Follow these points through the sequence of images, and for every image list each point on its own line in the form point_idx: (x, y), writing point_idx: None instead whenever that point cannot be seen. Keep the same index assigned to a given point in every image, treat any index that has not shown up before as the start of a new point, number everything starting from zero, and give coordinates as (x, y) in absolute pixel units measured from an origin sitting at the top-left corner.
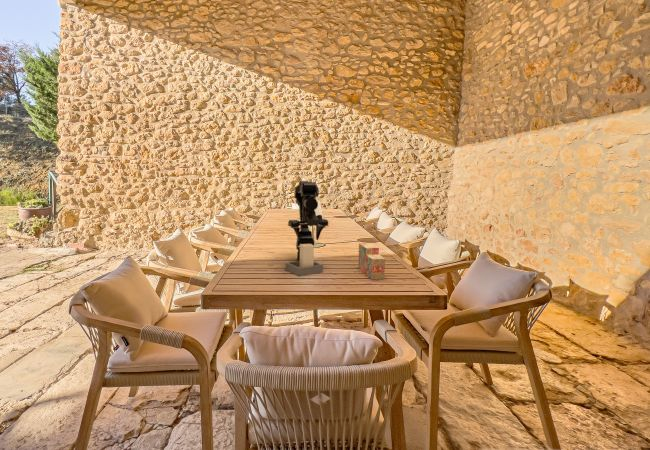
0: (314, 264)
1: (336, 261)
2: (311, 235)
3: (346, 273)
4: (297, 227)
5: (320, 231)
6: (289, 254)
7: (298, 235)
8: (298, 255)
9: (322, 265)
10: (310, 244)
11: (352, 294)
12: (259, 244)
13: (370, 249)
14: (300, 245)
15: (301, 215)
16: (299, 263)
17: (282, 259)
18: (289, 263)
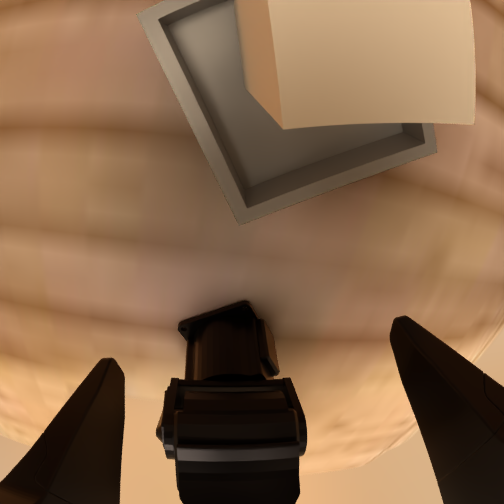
0: (199, 100)
1: (43, 289)
2: (182, 472)
3: (10, 4)
4: None
5: (28, 465)
6: None
7: (467, 369)
8: (272, 349)
9: (142, 12)
10: (299, 24)
11: None
12: (331, 469)
13: None
14: (465, 86)
15: None
16: (318, 171)
17: (339, 353)
18: (409, 145)
